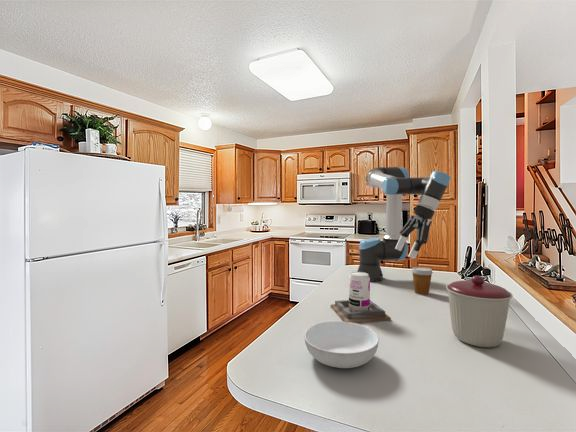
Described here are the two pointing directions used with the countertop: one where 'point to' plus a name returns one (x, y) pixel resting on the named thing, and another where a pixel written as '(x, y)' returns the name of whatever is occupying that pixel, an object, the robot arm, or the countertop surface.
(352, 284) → the supplement can
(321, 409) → the countertop surface
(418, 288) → the disposable coffee cup
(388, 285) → the countertop surface
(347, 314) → the jig plate
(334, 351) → the serving bowl
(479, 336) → the canister
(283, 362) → the countertop surface
